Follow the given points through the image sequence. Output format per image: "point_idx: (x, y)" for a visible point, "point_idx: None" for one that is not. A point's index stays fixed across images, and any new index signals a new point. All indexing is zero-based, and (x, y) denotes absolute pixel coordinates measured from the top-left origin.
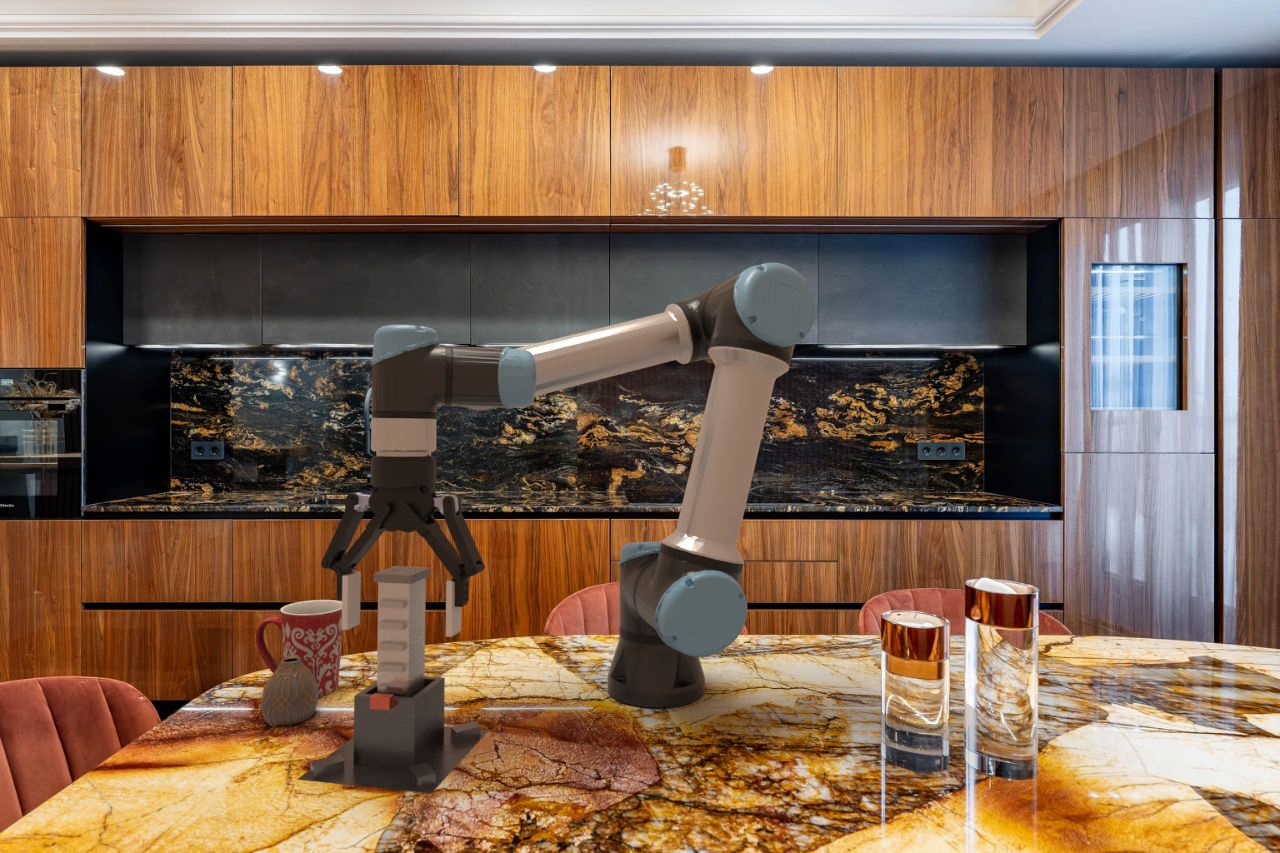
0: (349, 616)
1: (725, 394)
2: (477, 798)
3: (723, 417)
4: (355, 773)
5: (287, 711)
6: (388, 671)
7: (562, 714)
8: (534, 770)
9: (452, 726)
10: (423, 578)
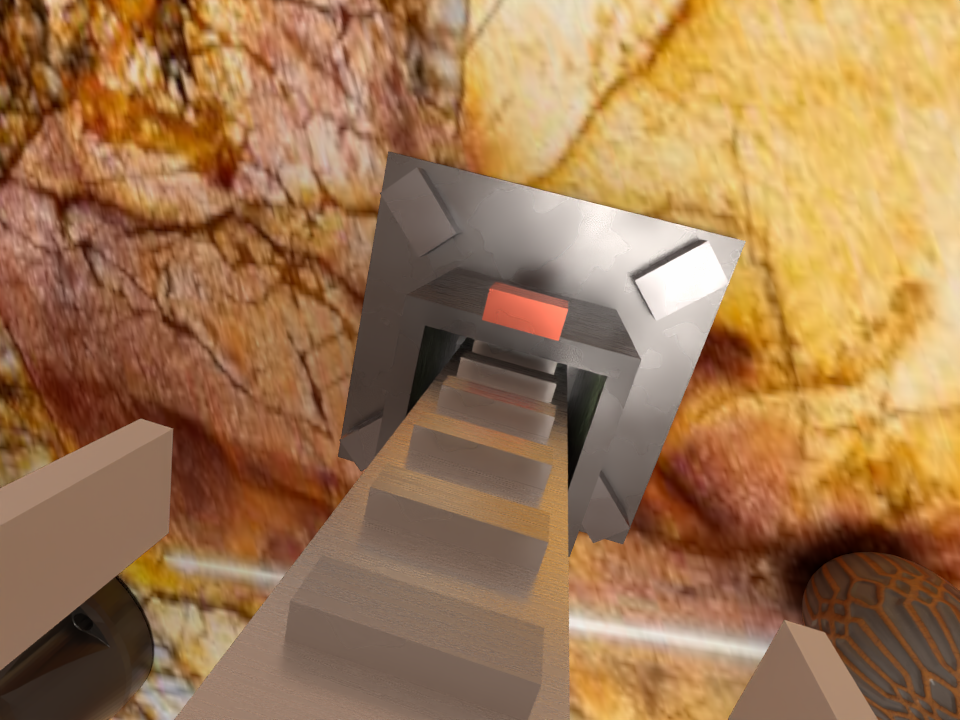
0: (811, 713)
1: None
2: (302, 169)
3: None
4: (598, 263)
5: (882, 571)
6: (509, 394)
7: (217, 538)
8: (215, 289)
9: None
10: None
